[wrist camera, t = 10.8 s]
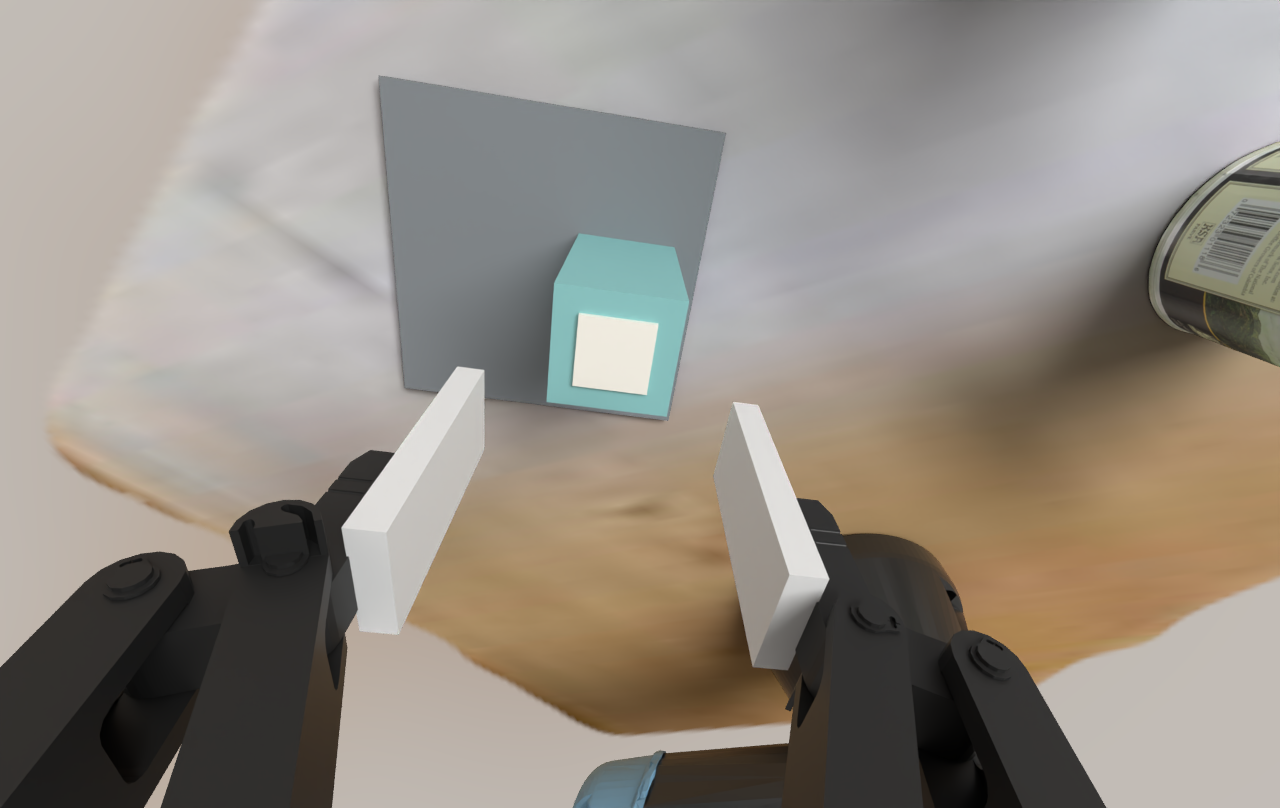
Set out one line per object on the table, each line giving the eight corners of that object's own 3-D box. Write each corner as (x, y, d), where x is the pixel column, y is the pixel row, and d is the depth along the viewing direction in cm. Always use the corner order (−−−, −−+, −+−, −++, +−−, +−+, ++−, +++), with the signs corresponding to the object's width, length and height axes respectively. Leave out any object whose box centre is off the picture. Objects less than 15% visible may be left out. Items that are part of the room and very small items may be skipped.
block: (659, 336, 30) (667, 419, 22) (571, 324, 29) (545, 404, 21) (674, 247, 27) (689, 303, 19) (579, 233, 27) (553, 284, 19)
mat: (667, 415, 33) (668, 420, 32) (408, 383, 32) (404, 387, 31) (724, 132, 25) (725, 133, 25) (384, 76, 24) (378, 75, 23)
